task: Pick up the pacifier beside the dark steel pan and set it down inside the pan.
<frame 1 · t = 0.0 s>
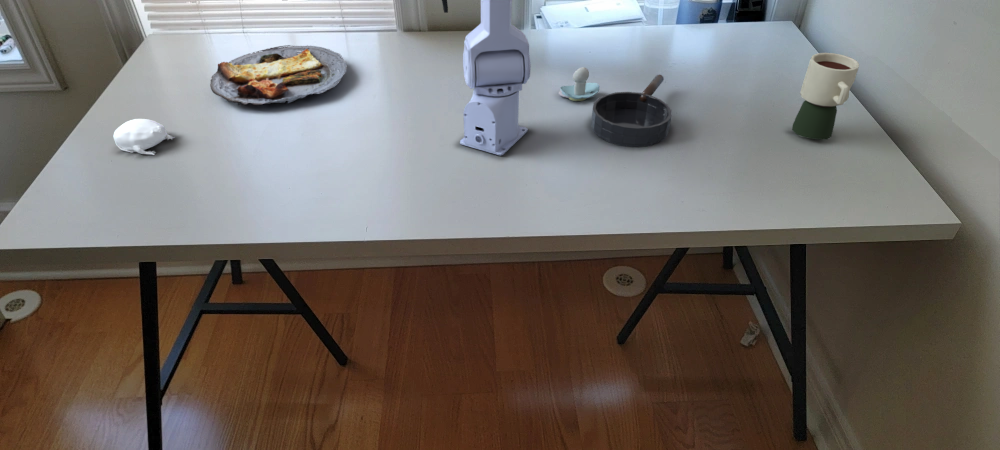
hand: (464, 8, 127), 11 cm above the table, tool pointing down, fingers open, 7 cm apart
food plate: (281, 83, 125), on the table
pan: (629, 127, 111), on the table
pacifier: (577, 97, 121), on the table
white frog figurine: (146, 145, 107), on the table
character mug: (810, 135, 110), on the table
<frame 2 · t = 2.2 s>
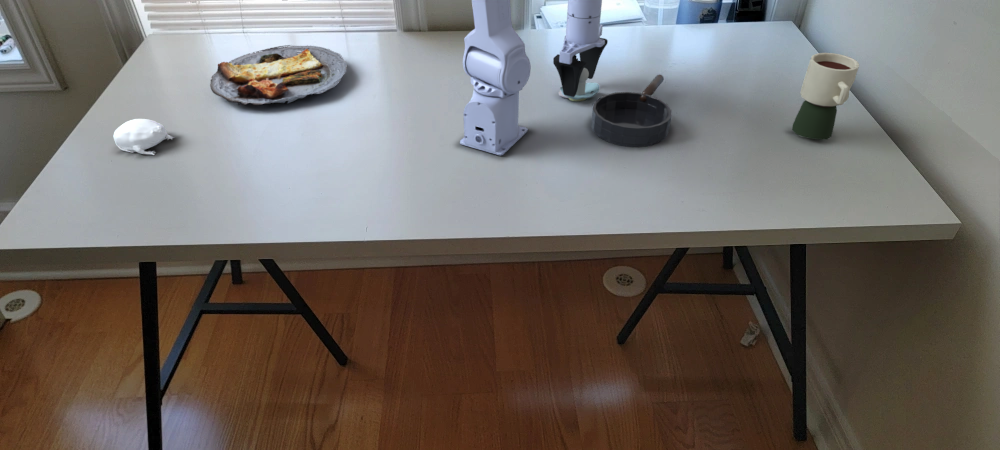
hand: (578, 86, 119), 2 cm above the table, tool pointing down, fingers open, 7 cm apart
pacifier: (577, 97, 121), on the table, touching gripper
everything else where it was.
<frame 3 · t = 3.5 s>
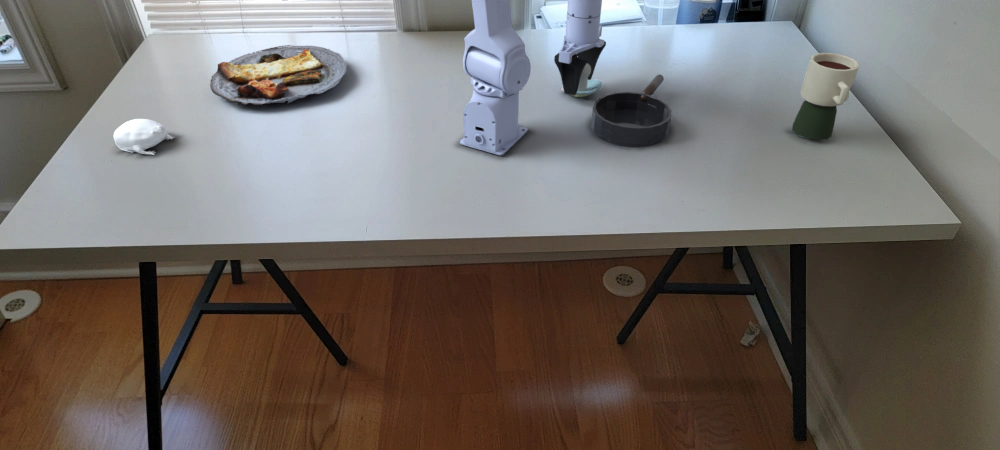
hand: (577, 86, 119), 2 cm above the table, tool pointing down, fingers closed on pacifier, 6 cm apart
pacifier: (578, 93, 121), on the table, touching gripper
everything else where it was.
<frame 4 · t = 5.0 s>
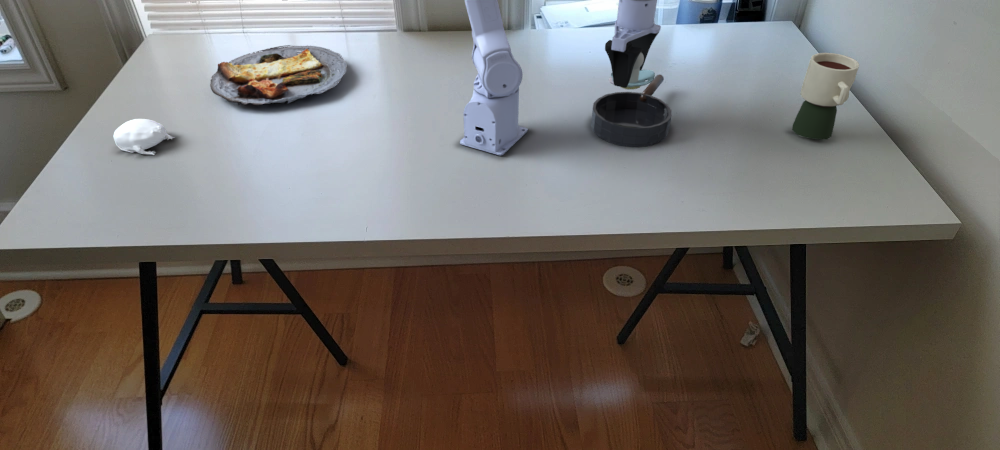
hand: (627, 77, 107), 8 cm above the table, tool pointing down, fingers closed on pacifier, 6 cm apart
pacifier: (628, 85, 109), point 7 cm above the table, touching gripper
everything else where it was.
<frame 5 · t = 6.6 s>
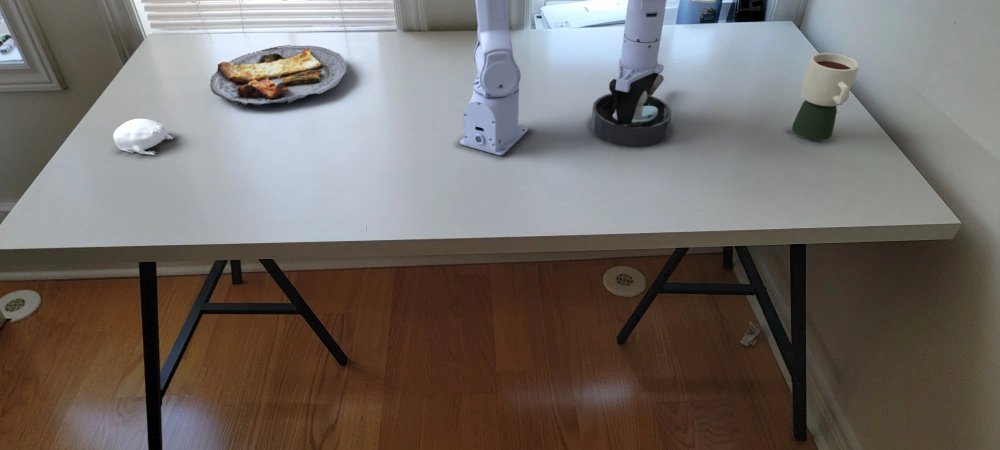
hand: (631, 114, 110), 3 cm above the table, tool pointing down, fingers closed on pacifier, 6 cm apart
pacifier: (632, 121, 111), point 1 cm above the table, touching gripper
everything else where it was.
when the fingers open (2 cm above the table, at t = 7.4 s): pacifier stays where it is, resting on pan.
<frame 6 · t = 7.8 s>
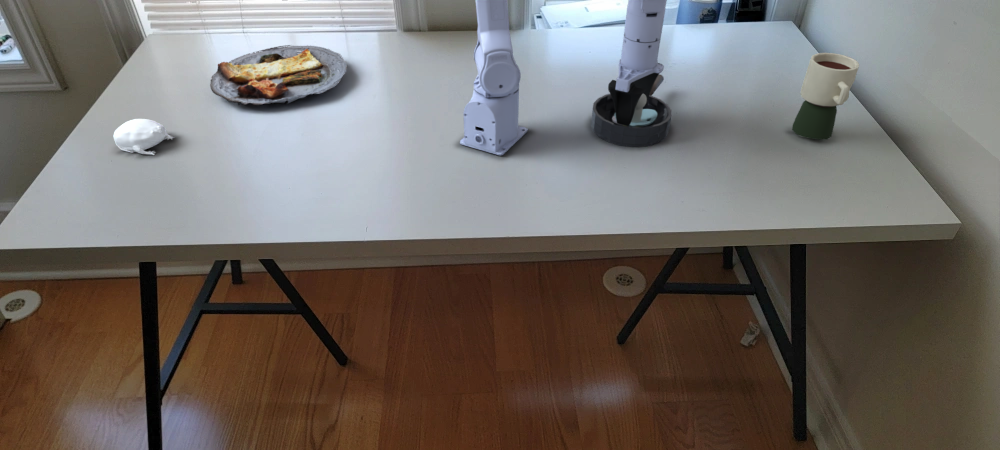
hand: (631, 114, 110), 3 cm above the table, tool pointing down, fingers open, 7 cm apart
pacifier: (631, 124, 111), resting on pan
everything else where it was.
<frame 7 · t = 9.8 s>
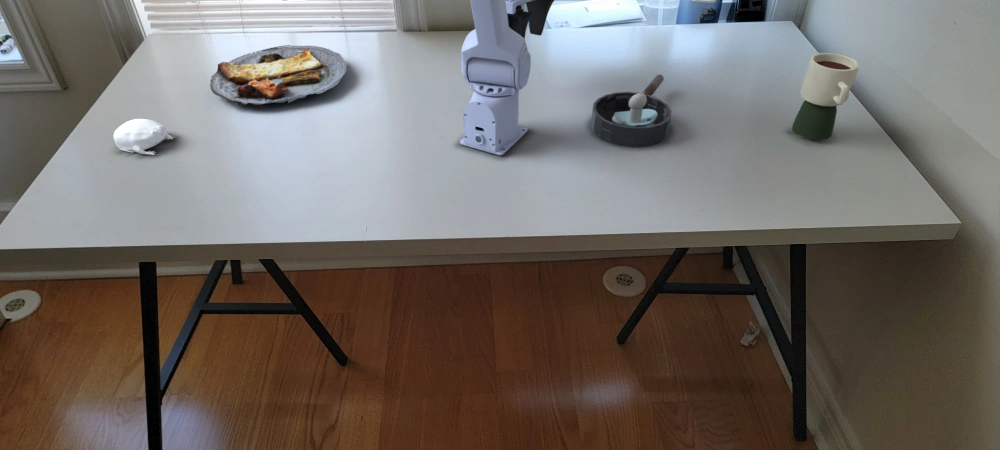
hand: (526, 41, 117), 9 cm above the table, tool pointing down, fingers open, 7 cm apart
nothing on the table moved.
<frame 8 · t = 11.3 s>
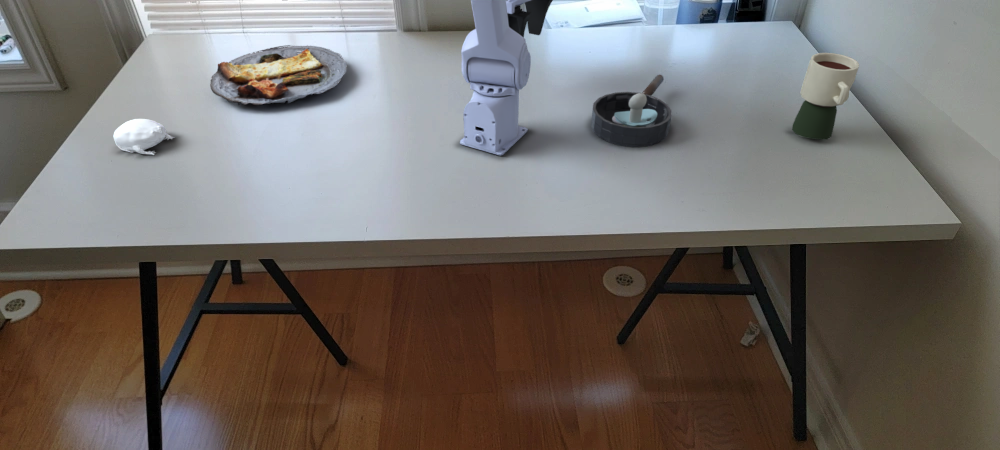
hand: (525, 41, 117), 9 cm above the table, tool pointing down, fingers open, 7 cm apart
nothing on the table moved.
at the end: pacifier inside the target area in the pan (0.7 cm from its centre), point 0.3 cm above the pan's base; the gripper is holding nothing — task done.
